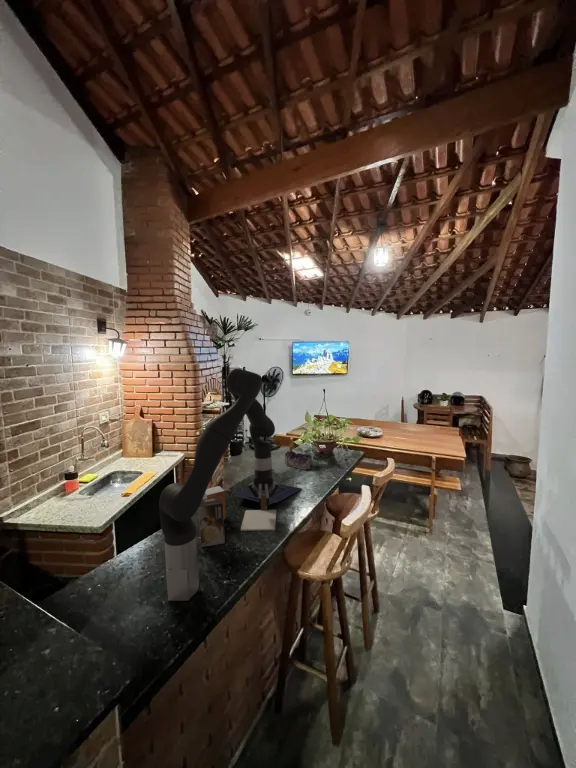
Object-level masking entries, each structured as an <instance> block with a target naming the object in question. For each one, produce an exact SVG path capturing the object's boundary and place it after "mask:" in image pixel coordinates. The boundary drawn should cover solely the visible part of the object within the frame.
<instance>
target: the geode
mask: <svg viewBox="0 0 576 768" xmlns="http://www.w3.org/2000/svg"><path fill="white" fill-rule="evenodd" d="M285 464H286V465H288V466H287V467H290V466H291V467H292V468H294V467H295V468H294V469H297V468H300V469H299V470H304V471H309V470H311V467H312V466H313V465H314V464H313V456H312V455H311V454H306V453H304V454H303V453H299V452H298V453H297V452H295V451H293V450H292V449H290V450H289V451H287V452H285V453H284V465H285ZM286 465H285V466H286ZM291 467H290V468H291Z"/></svg>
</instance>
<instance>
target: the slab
mask: <svg viewBox="0 0 576 768" xmlns="http://www.w3.org/2000/svg"><path fill="white" fill-rule="evenodd" d="M260 510H261V511H266V510H268V506H266V495H261V505H260Z"/></svg>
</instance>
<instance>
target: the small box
mask: <svg viewBox="0 0 576 768" xmlns="http://www.w3.org/2000/svg"><path fill="white" fill-rule="evenodd" d="M225 493H226V491H225V490H224V489H223V488H222V487H221V485H219V486H218V485H217V486H215V487H209V488H207V489H206V492H205V494H204V497H203V499H210V498H217V497H221V498H222V503H223V518H224V520H226V495H225Z"/></svg>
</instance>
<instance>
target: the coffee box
mask: <svg viewBox="0 0 576 768" xmlns="http://www.w3.org/2000/svg"><path fill="white" fill-rule="evenodd" d="M198 521H199V538H200V540H199V541H200V547H201V548H203V547H204V548H206V547H210V546H217V545H221V544H225V541H226V540H225V539H226V537H225V523H224V521H225V519H224V518H223V503H222V498H221V497H217V498H210V499H202V501H201V504H200V506H199V508H198Z"/></svg>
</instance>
